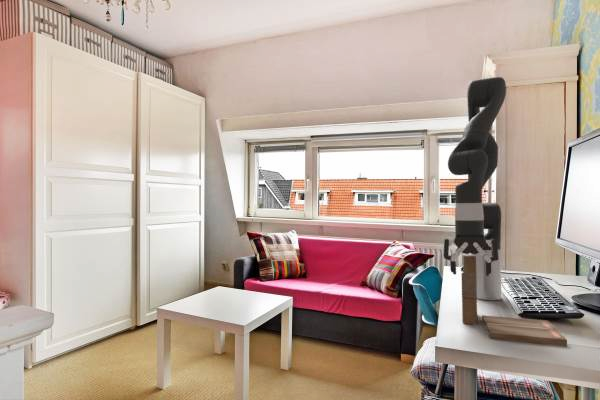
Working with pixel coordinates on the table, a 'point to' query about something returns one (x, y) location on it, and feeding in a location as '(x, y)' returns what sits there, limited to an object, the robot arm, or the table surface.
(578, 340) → the table surface
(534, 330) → the board
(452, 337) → the table surface
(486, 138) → the robot arm
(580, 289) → the table surface
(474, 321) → the tan cylinder-on-bar part
